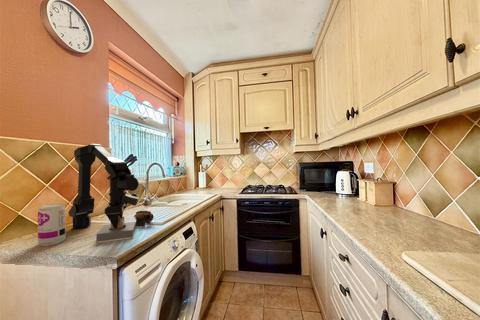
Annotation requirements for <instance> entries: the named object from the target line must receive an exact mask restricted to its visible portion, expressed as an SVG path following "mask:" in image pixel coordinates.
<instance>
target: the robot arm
mask: <svg viewBox="0 0 480 320" xmlns="http://www.w3.org/2000/svg"><path fill="white" fill-rule="evenodd" d="M73 155H74V160H75V163H77V165H78V179H77V182H78V185H77V195H76V196H75V198H74V199H73V201H72V205H71V207H70V208H69V211H68V217H71V218H72V227H71V230H77V229H87V228H88V227H90V226H91V224H92V216H91V215H90V214H93V213H94V210H95V198H94V197H93V196H92V195H91V182H92V181H91V180H92V179H91V177H92V165H94V163H95V162H96V158H97V159H98V160H99V161H100V162H101V163H102V164H103V165H104V170H105V171H106V172H107V174H108V175H109V176H107V178H106V179H107V180H109V193H108V196H109V203H108V206H106V207H105V208H104V215H105V216H106V217H107V219H108V220H109V222H110V224H111V223H112V225H113V227H114V228H117V227H118V222H119V217H124V216H123V215H124V210H126V209H127V208H128V206H129V205H132V206H135V207H136V206H137V205H138V203H139V199H140V197H139V196H138V194H137V193H135V192H134V193H132V194H127V191H129V192H133V191H136V190H137V189H138V187H139V185H140V184H139V183H140V182H139V180H138V179H137V178H136V177H135V174H132V171H131V170H130V168H129V166H128V164H127V163H126V162H127V161H124V160H123V159H120V158H116V157H114V156H113V155H112V154H111V153H110V152H109V151H107V149H105V148H104V146H103V145H102V144H100V143H99V144H98V143H90V144H88V145H84V146H79V147H77V148H76V149H75V150H74V153H73Z"/></svg>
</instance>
